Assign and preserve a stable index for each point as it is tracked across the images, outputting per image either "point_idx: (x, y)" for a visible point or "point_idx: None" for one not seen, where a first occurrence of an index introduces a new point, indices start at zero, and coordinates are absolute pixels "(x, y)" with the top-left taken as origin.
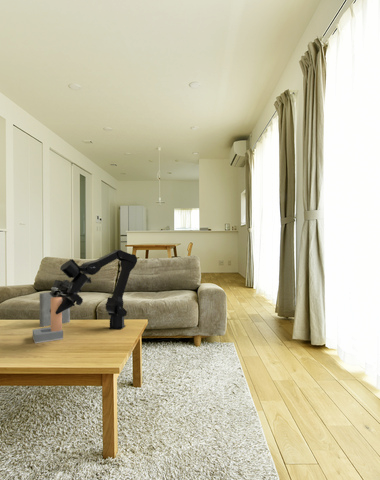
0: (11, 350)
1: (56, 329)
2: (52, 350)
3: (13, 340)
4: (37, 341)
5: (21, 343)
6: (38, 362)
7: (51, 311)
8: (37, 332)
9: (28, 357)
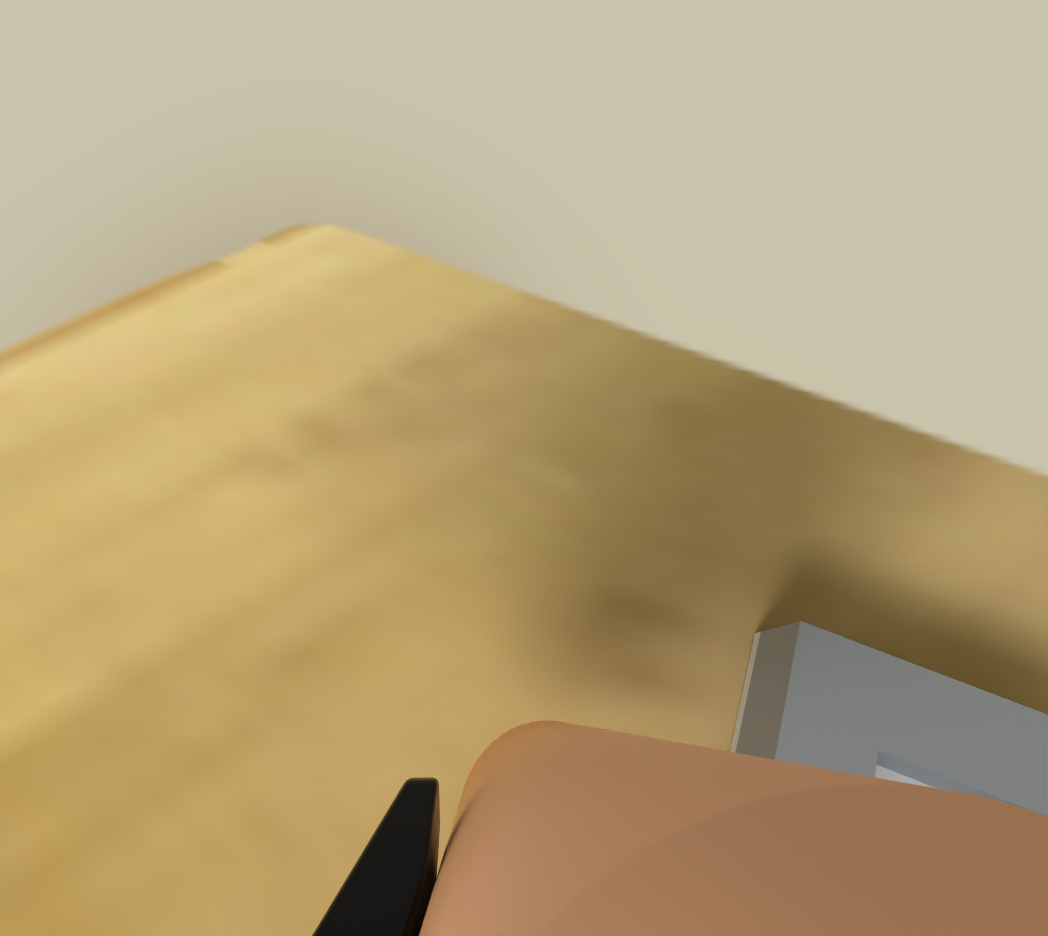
0: (683, 395)
1: (469, 775)
2: (341, 619)
3: (1039, 546)
4: (757, 658)
5: (858, 545)
6: (159, 378)
7: (600, 732)
8: (930, 716)
9: (358, 390)
